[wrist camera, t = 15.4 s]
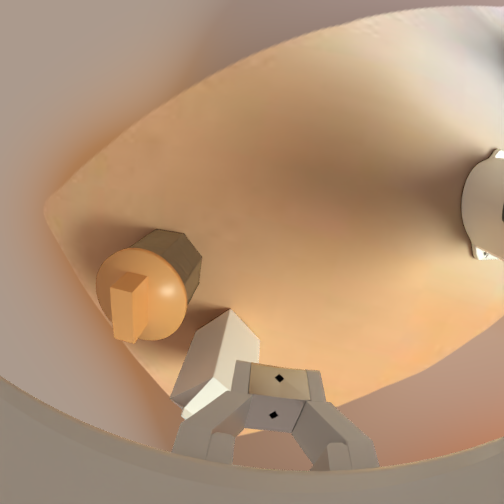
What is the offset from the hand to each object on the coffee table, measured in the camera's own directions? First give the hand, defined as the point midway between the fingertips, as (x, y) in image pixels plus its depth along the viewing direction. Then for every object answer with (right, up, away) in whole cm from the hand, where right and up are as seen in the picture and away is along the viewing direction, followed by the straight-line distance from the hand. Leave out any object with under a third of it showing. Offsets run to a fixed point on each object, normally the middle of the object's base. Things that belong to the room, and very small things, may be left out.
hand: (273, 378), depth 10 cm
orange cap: (-13, 0, +23) cm, 26 cm away
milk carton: (-4, -8, +34) cm, 35 cm away
